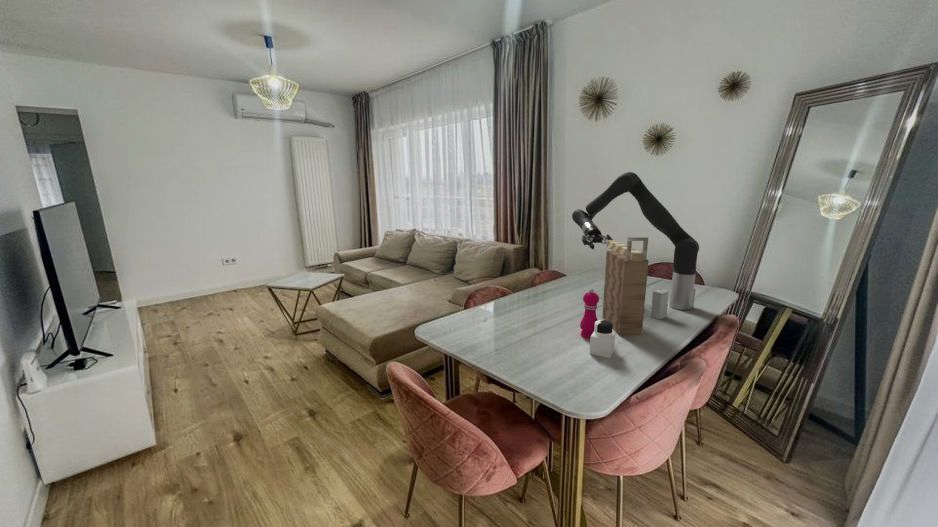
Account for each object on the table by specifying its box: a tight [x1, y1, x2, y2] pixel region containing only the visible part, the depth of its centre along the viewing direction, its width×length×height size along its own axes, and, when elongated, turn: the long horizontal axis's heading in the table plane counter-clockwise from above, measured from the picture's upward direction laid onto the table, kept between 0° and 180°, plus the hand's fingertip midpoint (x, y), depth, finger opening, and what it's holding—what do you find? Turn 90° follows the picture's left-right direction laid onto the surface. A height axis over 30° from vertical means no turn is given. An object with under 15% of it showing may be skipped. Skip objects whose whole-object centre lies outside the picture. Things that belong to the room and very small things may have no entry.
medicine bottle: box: [589, 319, 616, 359], centre depth 130 cm, size 7×7×12 cm
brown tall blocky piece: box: [601, 236, 650, 337], centre depth 149 cm, size 20×9×40 cm, turn 179°
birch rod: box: [606, 239, 643, 261], centre depth 150 cm, size 30×3×3 cm, turn 179°
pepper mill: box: [579, 288, 600, 340], centre depth 142 cm, size 7×7×20 cm
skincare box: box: [650, 288, 670, 320], centre depth 161 cm, size 6×4×12 cm
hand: (602, 247), depth 175 cm, fingers open, 8 cm apart
